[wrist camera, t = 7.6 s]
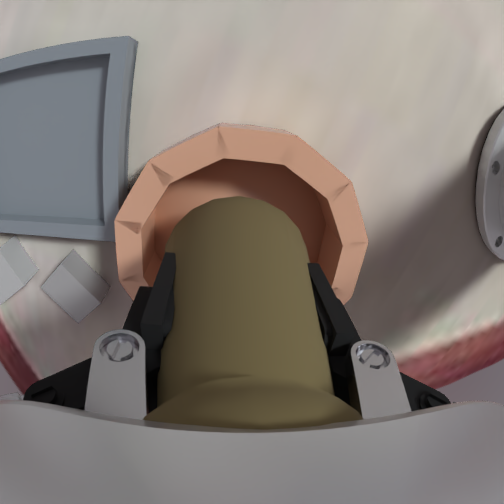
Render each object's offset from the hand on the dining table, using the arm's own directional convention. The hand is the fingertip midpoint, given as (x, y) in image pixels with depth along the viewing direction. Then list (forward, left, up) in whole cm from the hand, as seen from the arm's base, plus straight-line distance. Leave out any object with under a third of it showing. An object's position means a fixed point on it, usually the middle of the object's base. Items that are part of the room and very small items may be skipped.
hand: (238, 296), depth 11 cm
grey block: (+9, +4, -6) cm, 12 cm away
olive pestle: (0, 0, -2) cm, 2 cm away
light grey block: (+15, +3, -6) cm, 16 cm away
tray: (+11, -5, -6) cm, 13 cm away
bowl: (0, 0, -6) cm, 6 cm away
